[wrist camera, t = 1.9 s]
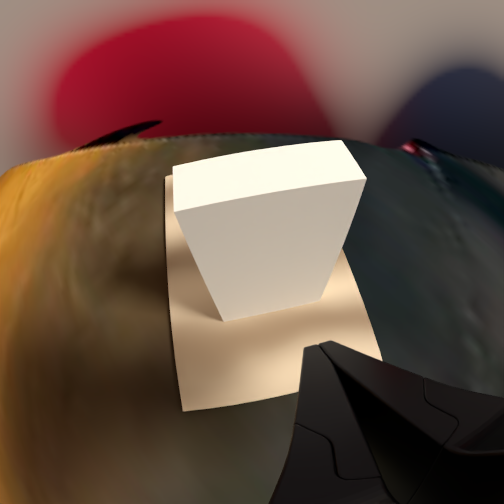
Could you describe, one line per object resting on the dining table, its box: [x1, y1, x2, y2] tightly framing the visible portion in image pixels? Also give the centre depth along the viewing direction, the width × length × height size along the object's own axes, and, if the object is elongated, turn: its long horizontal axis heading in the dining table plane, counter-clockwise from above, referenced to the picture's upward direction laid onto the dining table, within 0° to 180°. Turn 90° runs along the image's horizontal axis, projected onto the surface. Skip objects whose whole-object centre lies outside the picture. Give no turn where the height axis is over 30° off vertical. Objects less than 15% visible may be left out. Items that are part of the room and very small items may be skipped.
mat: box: [165, 175, 382, 411], centre depth 22 cm, size 22×14×1 cm, turn 11°
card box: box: [173, 140, 367, 322], centre depth 15 cm, size 2×7×12 cm, turn 101°
